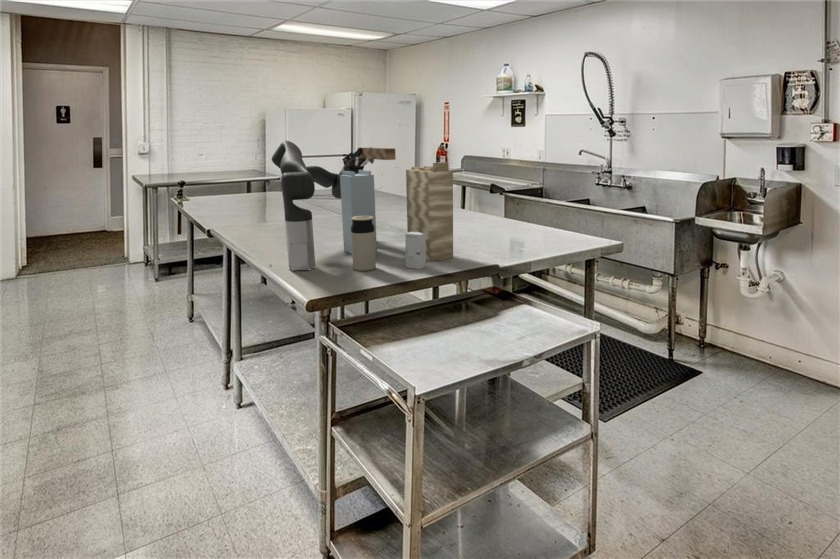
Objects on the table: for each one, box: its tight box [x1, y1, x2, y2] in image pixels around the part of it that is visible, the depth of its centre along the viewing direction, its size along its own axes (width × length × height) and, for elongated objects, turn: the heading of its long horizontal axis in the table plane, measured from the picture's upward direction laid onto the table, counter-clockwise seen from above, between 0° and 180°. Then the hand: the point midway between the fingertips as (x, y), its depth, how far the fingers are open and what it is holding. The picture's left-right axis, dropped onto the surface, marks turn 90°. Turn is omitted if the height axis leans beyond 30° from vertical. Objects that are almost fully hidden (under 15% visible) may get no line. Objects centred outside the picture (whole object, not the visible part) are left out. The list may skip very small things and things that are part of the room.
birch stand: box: [405, 161, 454, 262], centre depth 207 cm, size 16×10×35 cm, turn 33°
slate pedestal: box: [340, 169, 378, 255], centre depth 217 cm, size 9×10×32 cm
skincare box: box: [405, 232, 426, 270], centre depth 194 cm, size 6×4×12 cm
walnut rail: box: [357, 147, 397, 161], centre depth 215 cm, size 24×4×4 cm, turn 32°
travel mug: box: [351, 216, 377, 272], centre depth 192 cm, size 8×8×18 cm
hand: (366, 149), depth 222 cm, fingers closed on walnut rail, 4 cm apart
